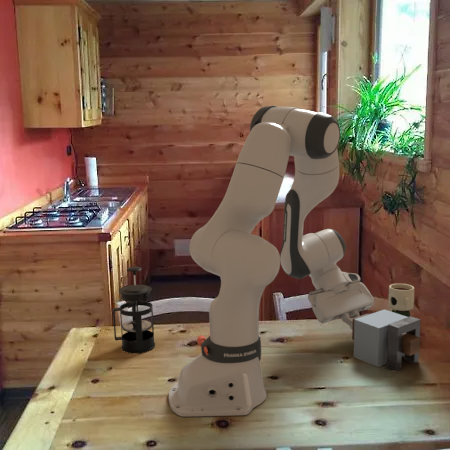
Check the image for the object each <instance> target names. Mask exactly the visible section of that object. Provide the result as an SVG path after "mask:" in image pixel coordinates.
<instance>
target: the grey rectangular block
mask: <svg viewBox="0 0 450 450" xmlns="http://www.w3.org/2000/svg"><path fill="white" fill-rule="evenodd" d="M368 314H369V315H366V316H363V317H360V318H357V319H355V322H354V340H353V358H356V359H358V360H360V361H362V362H365V363H367V364H370V365H372V366H374V367H377V368H379V367H381V366H383V365H387V331H388V324H391V323H393V322H396V321H399V320H402V319H404V318H407V317H406V316H403V315H400V314H397V313H394V312H392V310H388V309H381V310H379V311H376V312H373V313H368ZM403 357H405V354H404V353H402V355H401V358H403Z"/></svg>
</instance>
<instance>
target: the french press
mask: <svg viewBox="0 0 450 450" xmlns="http://www.w3.org/2000/svg"><path fill="white" fill-rule="evenodd" d="M142 270H143V268H142V267H139V266H131V267H128V268H126V272H132V276H133V284H130V285H125V286H123V287H121V288H119V289H118V293H119V294H120V299H121V300H123V301H125V303H123V304H121V305H120V306H119V307H116V308H115V307H114V308H112V319H113V334H114V337H113V338H114V340H115V341H121V347H120V348H121V350H122V351H123V352H124V351H125V352H124V353H127V352H128V353H127V354H133V353H137V354H143V353H142V352H144V353H147V351H148V352H150V351H152V350H153V349H154V348H155V347H156V342H155V332H154V330H155V328H154V312H153V311H154V310H153V303H152V302H150V301H146V300H147V299H148V298H149V296H150V293H151V292H152V289H153V288H152V286H150V285H147V284H136V283H137V282H136V275H137V272H139V271H142ZM139 306H141V307H142V306H143V307H148V308H147V309H143V310H139ZM129 307H131V311H128V310H125V309H126V308H129ZM115 312H119V314H120V315H119V317H120V331H121V336H117V330H116V315H115V314H116V313H115ZM150 313H151V321H150V320H145V319H142V316H145V315H148V314H150ZM122 315H123V316H126V317H131V318H132V320H130V321H127V322H124V323H123V321H122V320H123V319H122V318H123V317H122ZM151 329H152V331H151ZM123 332H125V333H123ZM149 350H150V351H149Z"/></svg>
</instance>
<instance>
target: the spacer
mask: <svg viewBox="0 0 450 450" xmlns="http://www.w3.org/2000/svg"><path fill="white" fill-rule="evenodd" d="M403 333H408V334H411V335H414V336H417V337H420V338H421V319H420V318H418V317H413V316H412V315H410V317H407V318H404V319H402V320H399V321H396V322H393V323H391V324H388V341H387V363H386V368H387V369H390V370H391V371H394V372H398V371H401V370H402V357H401V355H402V334H403ZM419 358H420V351H419V352H418V353H416V354H413V355H411V356H409V355H407V354H405V356H404V361H407V362H409V363H411V364H413V365H414V364H417V363H419Z"/></svg>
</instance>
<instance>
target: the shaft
mask: <svg viewBox="0 0 450 450" xmlns="http://www.w3.org/2000/svg"><path fill="white" fill-rule="evenodd" d="M369 314H370V313H364V314H362V315H360V316H359V317H356V318H352V320H353V324H352V329H351V330H352V331H351V332H352V333H351V334H352V336H351V339H352V340H353V341H354V322H355V319H357V318H360V317H363V316H366V315H369ZM387 341H388V331H387ZM420 343H421V336H420V337H417V336H414V335H411V334H408V333H403V334H402V353H404V354H407V355H409V356H411V355H413V354H416V353H418V352H419V353H420V350H421V347H420V346H421V344H420Z"/></svg>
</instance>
